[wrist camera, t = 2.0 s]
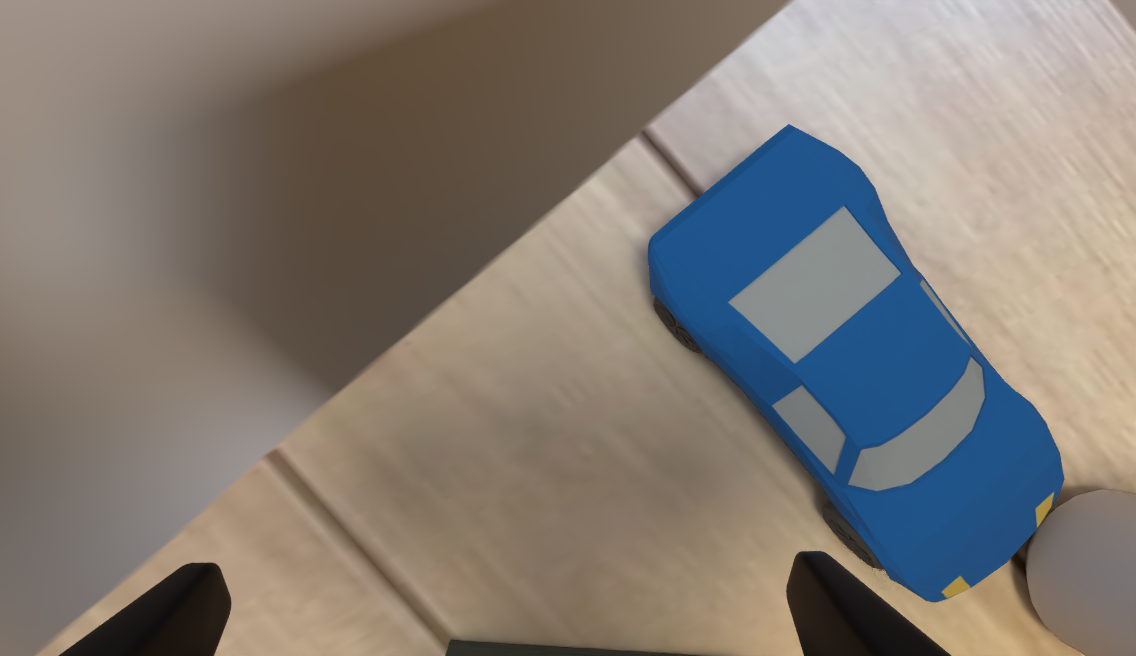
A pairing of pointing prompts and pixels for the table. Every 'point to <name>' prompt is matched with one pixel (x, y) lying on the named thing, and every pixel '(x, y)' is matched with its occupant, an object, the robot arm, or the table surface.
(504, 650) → the tray
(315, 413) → the table surface
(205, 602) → the robot arm
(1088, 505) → the can
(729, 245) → the toy car
